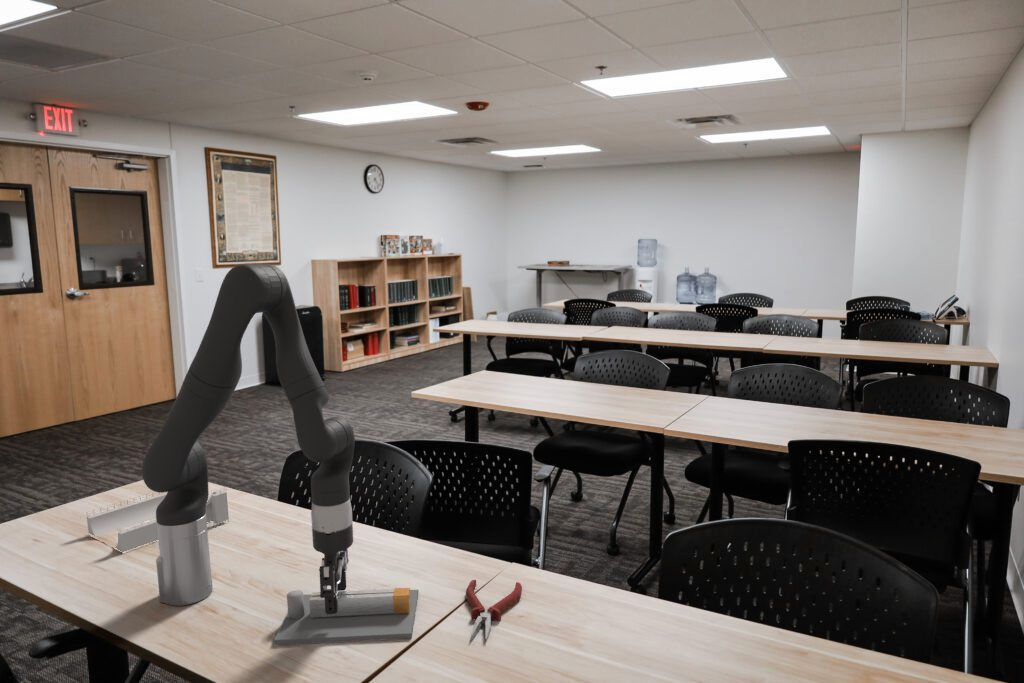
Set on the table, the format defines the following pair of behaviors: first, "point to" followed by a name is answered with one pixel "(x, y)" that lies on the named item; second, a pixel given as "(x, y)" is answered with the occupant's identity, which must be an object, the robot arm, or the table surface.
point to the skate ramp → (144, 512)
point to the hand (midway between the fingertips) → (336, 601)
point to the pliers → (493, 611)
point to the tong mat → (341, 624)
